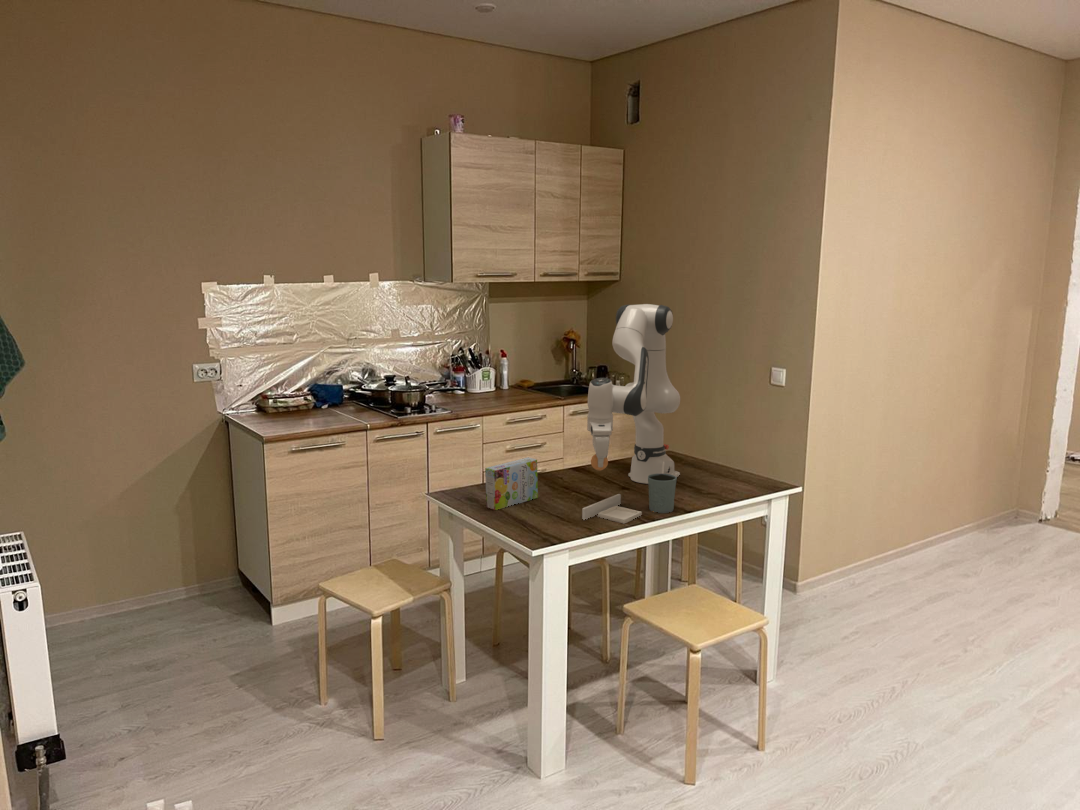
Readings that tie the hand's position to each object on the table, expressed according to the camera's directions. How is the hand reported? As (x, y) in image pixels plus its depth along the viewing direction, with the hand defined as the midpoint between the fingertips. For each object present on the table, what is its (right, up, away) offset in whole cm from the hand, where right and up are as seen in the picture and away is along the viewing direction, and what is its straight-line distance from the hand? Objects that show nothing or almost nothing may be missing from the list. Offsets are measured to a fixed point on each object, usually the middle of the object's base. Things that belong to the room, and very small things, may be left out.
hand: (599, 464), depth 282 cm
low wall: (+1, -17, +3) cm, 17 cm away
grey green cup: (+22, -17, +6) cm, 29 cm away
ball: (0, +1, 0) cm, 1 cm away
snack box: (-31, -15, +13) cm, 37 cm away
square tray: (+7, -18, -2) cm, 19 cm away
